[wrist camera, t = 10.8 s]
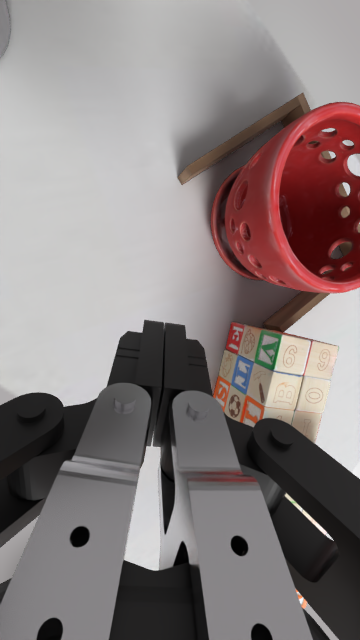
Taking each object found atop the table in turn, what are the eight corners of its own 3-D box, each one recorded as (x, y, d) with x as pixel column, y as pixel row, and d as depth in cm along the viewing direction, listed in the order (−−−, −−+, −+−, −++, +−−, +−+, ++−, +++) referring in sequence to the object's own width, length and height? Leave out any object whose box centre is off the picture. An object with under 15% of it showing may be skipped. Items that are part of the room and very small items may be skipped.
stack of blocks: (229, 320, 33) (310, 338, 21) (276, 330, 35) (374, 353, 23) (185, 506, 34) (240, 623, 22) (234, 505, 36) (308, 613, 24)
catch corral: (177, 177, 29) (187, 165, 26) (283, 109, 32) (303, 92, 29) (266, 328, 34) (282, 332, 31) (351, 259, 37) (373, 257, 34)
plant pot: (178, 254, 30) (236, 234, 19) (234, 139, 31) (324, 52, 19) (275, 310, 34) (371, 322, 23) (323, 208, 35) (440, 171, 23)
